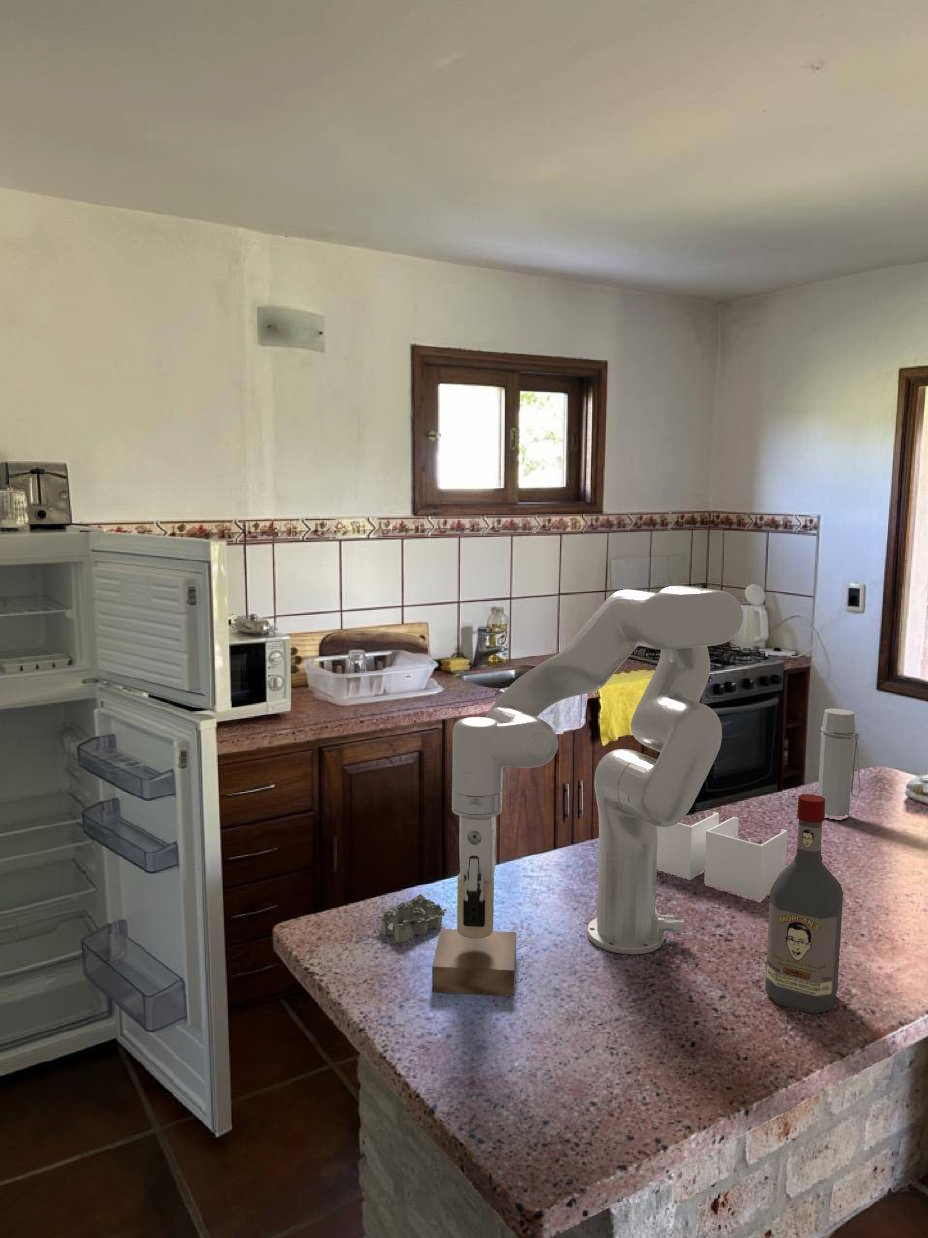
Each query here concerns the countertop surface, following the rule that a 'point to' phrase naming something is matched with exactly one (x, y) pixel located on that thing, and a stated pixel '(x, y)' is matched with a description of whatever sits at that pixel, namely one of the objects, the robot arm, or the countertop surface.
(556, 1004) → the countertop surface
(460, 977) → the plinth
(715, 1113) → the countertop surface
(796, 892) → the liquor
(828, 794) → the water bottle
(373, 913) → the countertop surface
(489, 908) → the candle
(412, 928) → the egg carton
